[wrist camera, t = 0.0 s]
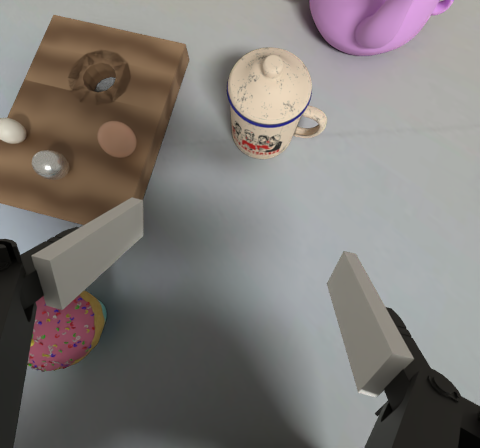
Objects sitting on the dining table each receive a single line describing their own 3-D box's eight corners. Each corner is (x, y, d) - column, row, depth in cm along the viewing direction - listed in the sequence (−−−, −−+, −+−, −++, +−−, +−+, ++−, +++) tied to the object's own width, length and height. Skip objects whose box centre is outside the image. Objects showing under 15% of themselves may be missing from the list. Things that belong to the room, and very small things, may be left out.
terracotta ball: (136, 166, 29) (118, 151, 25) (105, 159, 29) (83, 142, 25) (146, 137, 29) (131, 117, 25) (116, 130, 30) (96, 109, 25)
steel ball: (70, 186, 28) (46, 176, 25) (45, 180, 29) (17, 169, 25) (80, 161, 29) (58, 148, 25) (55, 155, 29) (29, 141, 26)
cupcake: (84, 366, 28) (-35, 449, 16) (41, 316, 28) (-102, 358, 17) (135, 314, 28) (59, 355, 17) (92, 267, 29) (-9, 274, 17)
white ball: (27, 150, 29) (3, 138, 26) (6, 145, 29) (-20, 132, 26) (36, 129, 30) (13, 115, 27) (15, 124, 30) (-10, 109, 27)
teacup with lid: (221, 149, 32) (210, 88, 20) (243, 95, 33) (244, 9, 21) (301, 177, 31) (337, 130, 20) (320, 121, 32) (364, 45, 21)
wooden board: (130, 236, 30) (120, 234, 27) (-7, 200, 31) (-28, 195, 28) (189, 59, 34) (185, 44, 31) (66, 32, 35) (53, 14, 32)
